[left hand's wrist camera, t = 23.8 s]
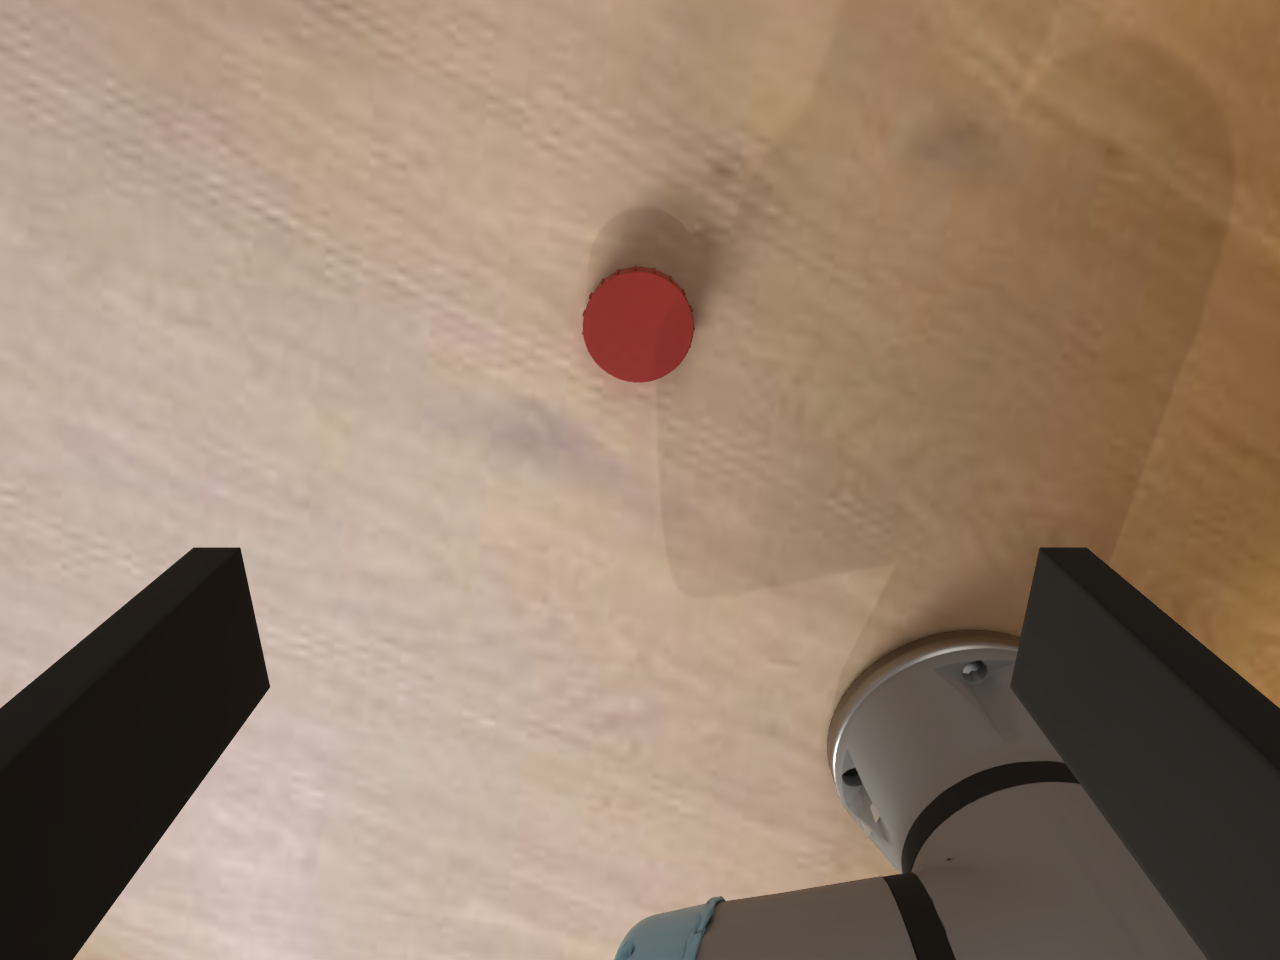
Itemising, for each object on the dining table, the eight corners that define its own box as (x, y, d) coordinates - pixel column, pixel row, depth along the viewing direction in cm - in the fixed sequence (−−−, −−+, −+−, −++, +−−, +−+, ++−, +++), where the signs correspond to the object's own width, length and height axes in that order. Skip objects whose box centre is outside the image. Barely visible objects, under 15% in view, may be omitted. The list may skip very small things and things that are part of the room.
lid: (701, 363, 38) (704, 372, 37) (597, 384, 39) (595, 394, 37) (681, 255, 36) (683, 259, 35) (572, 278, 37) (569, 283, 35)
